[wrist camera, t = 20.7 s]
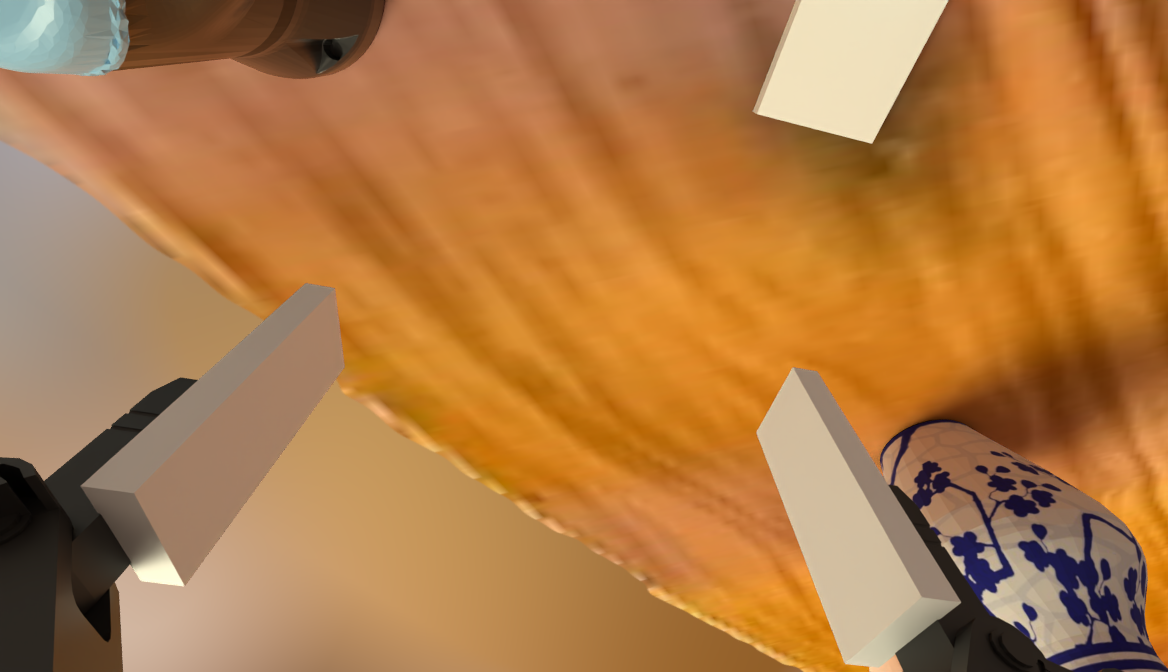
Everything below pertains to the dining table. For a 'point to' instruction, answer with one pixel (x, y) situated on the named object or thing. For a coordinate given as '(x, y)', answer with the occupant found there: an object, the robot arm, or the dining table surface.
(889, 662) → the bowl
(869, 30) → the peg insertion fixture
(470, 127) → the dining table surface
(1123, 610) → the vase
